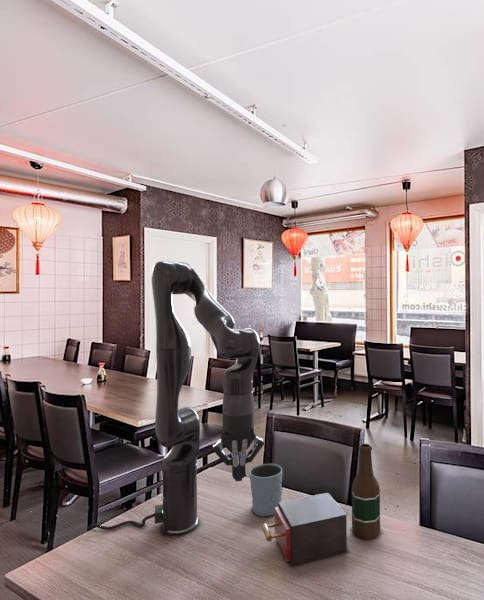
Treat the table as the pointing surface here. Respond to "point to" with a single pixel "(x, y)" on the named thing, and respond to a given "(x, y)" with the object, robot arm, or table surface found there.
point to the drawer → (280, 533)
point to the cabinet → (315, 527)
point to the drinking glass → (266, 488)
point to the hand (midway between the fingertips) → (238, 479)
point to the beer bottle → (365, 497)
